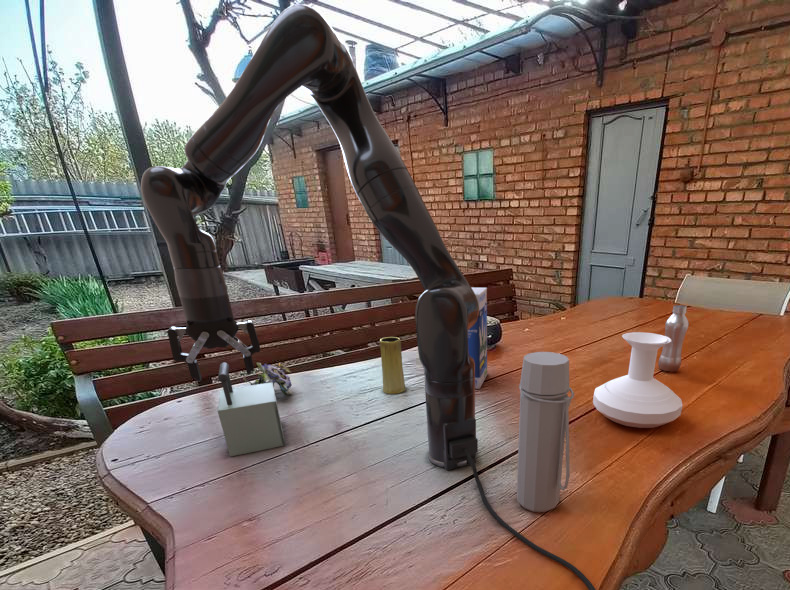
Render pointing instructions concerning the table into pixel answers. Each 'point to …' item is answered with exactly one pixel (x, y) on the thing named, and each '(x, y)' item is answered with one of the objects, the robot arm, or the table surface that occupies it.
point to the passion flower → (274, 377)
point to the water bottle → (543, 430)
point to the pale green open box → (248, 416)
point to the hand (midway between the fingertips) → (224, 376)
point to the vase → (392, 365)
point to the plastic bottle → (674, 339)
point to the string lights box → (479, 338)
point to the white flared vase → (639, 388)
